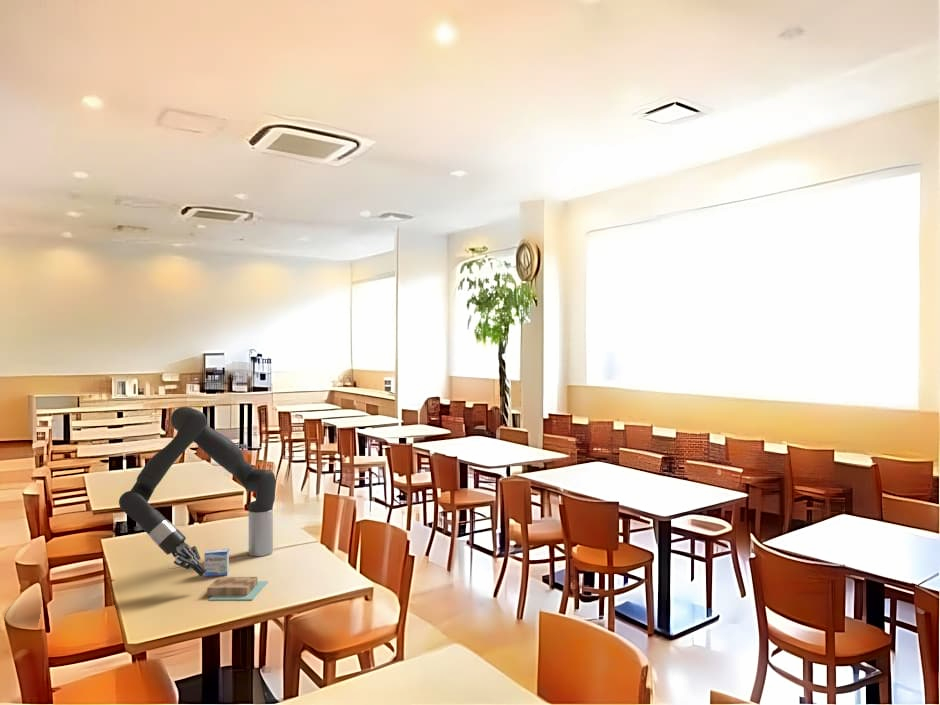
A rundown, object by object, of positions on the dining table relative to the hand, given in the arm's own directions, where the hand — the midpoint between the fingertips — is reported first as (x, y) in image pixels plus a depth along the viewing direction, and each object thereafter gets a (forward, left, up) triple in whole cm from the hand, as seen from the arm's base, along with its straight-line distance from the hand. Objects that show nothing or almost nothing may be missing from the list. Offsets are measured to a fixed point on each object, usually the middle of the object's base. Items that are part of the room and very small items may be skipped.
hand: (203, 573), depth 210 cm
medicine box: (-16, -2, -6) cm, 18 cm away
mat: (0, +12, -6) cm, 13 cm away
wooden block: (0, +3, -4) cm, 5 cm away
